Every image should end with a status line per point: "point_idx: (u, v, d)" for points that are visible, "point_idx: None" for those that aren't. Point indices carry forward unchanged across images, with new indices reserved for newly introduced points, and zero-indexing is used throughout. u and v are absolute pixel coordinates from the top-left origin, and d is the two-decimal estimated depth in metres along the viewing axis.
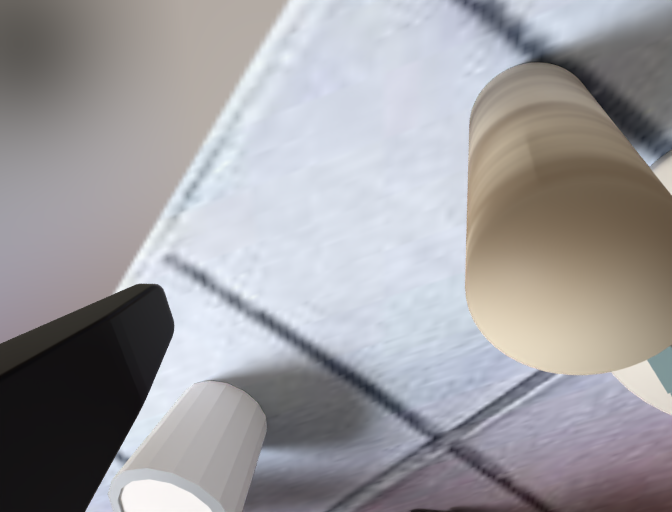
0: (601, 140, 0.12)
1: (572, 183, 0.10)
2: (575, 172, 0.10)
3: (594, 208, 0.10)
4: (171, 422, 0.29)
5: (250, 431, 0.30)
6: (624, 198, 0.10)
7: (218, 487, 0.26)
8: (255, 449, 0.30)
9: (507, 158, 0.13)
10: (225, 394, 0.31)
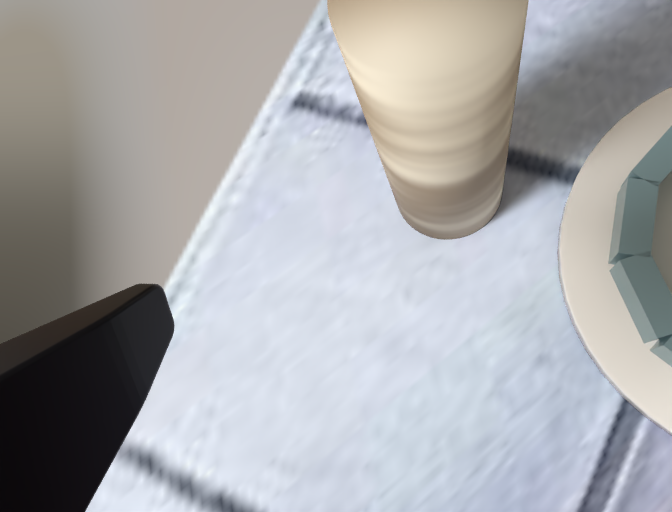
0: None
1: None
2: None
3: None
4: None
5: None
6: None
7: None
8: None
9: None
10: None
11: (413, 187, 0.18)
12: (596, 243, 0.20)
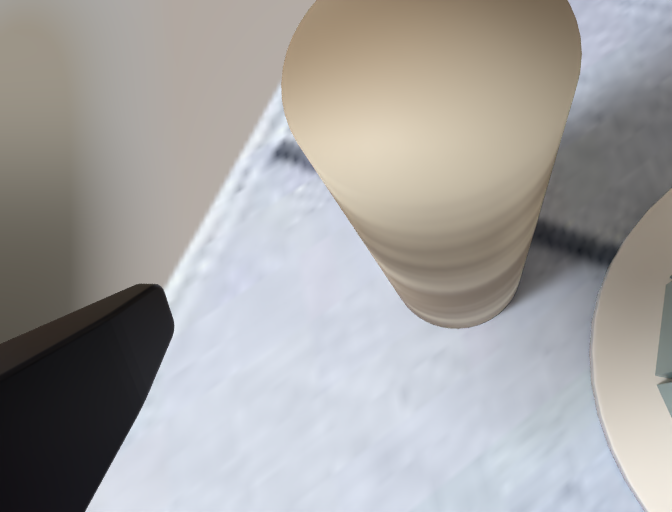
0: None
1: None
2: None
3: None
4: None
5: None
6: None
7: None
8: None
9: None
10: None
11: (410, 289, 0.14)
12: (639, 348, 0.16)
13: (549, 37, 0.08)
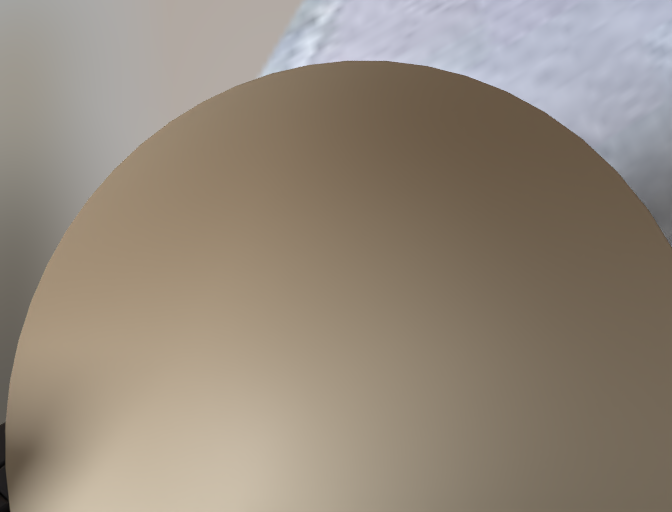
0: None
1: (203, 106, 0.04)
2: None
3: (261, 137, 0.04)
4: None
5: None
6: (318, 93, 0.04)
7: None
8: None
9: None
10: None
11: None
12: None
13: (627, 348, 0.03)
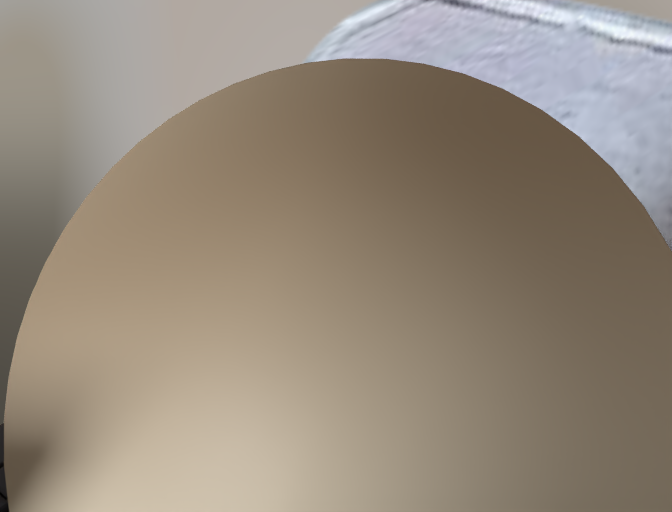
0: None
1: (201, 104, 0.04)
2: None
3: (259, 135, 0.04)
4: None
5: None
6: (316, 91, 0.04)
7: None
8: None
9: None
10: None
11: None
12: None
13: (622, 344, 0.03)
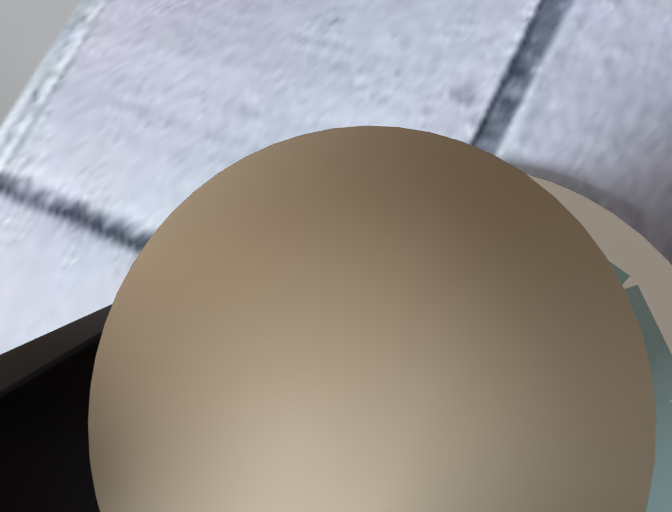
0: None
1: (244, 160, 0.05)
2: None
3: (295, 187, 0.05)
4: None
5: None
6: (342, 152, 0.05)
7: None
8: None
9: None
10: None
11: None
12: None
13: (587, 364, 0.04)
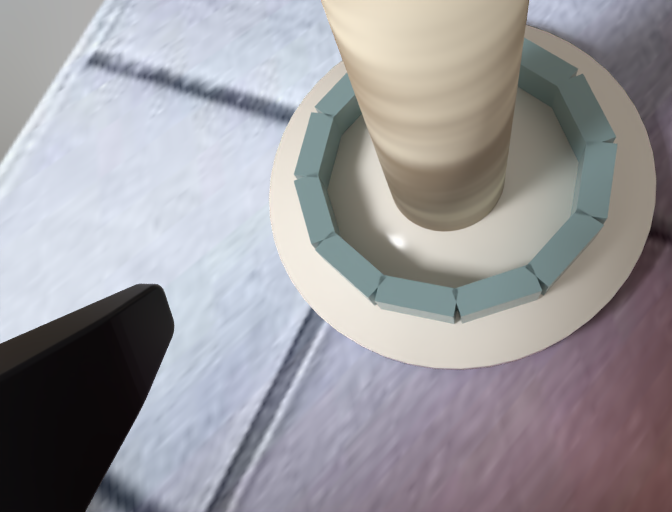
0: None
1: None
2: None
3: None
4: None
5: None
6: None
7: None
8: None
9: None
10: None
11: (407, 169, 0.16)
12: None
13: None
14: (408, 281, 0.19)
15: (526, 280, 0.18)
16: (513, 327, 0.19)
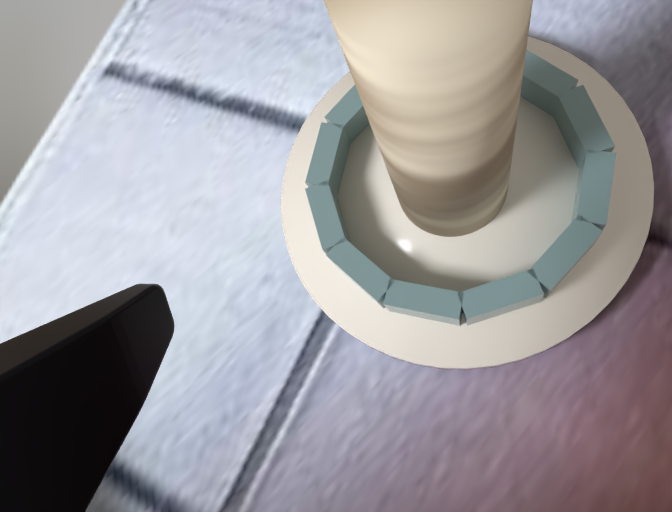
0: None
1: None
2: None
3: None
4: None
5: None
6: None
7: None
8: None
9: None
10: None
11: (414, 180, 0.17)
12: None
13: None
14: (415, 285, 0.20)
15: (528, 284, 0.19)
16: (516, 328, 0.20)
